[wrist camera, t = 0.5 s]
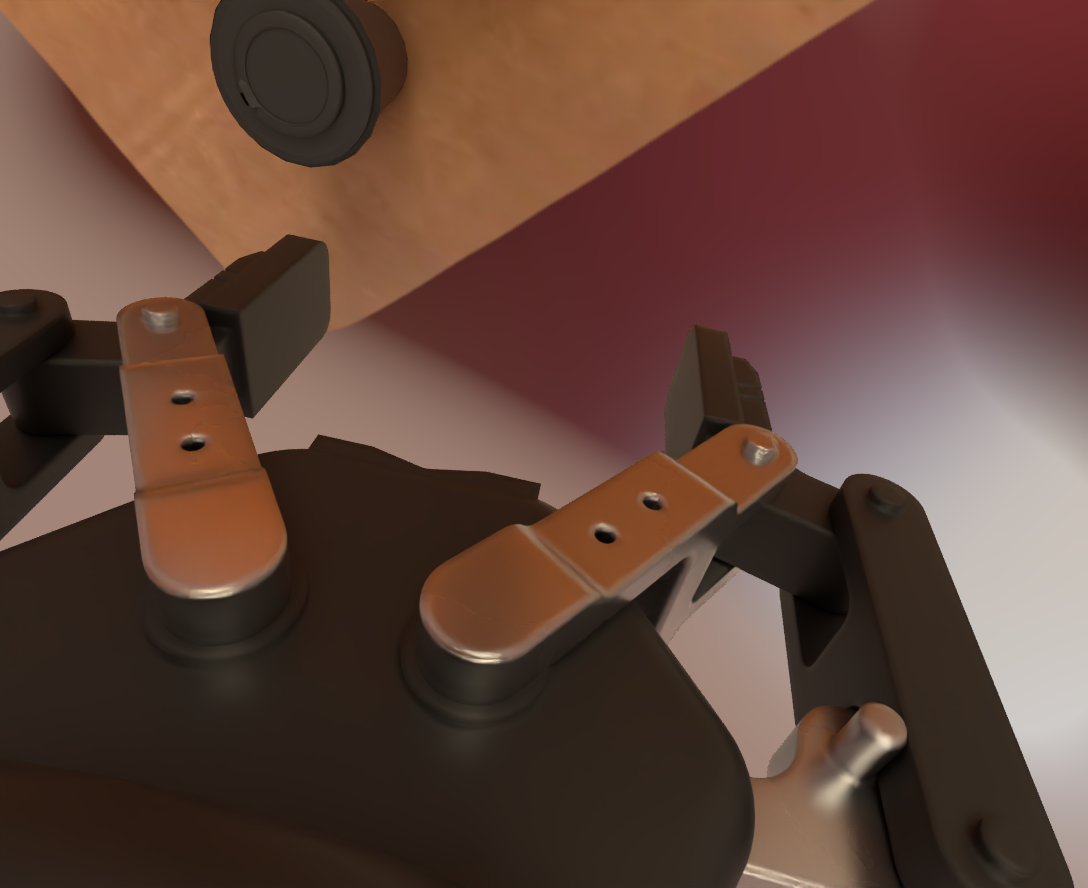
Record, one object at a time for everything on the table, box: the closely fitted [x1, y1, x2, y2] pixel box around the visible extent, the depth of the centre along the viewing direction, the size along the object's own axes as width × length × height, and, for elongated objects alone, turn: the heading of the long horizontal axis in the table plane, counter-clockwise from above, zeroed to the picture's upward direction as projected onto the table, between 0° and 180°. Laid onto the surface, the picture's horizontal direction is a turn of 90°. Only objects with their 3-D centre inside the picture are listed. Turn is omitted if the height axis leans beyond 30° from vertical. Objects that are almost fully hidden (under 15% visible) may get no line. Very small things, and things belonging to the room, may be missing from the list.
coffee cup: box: [210, 0, 408, 167], centre depth 33 cm, size 8×8×10 cm
